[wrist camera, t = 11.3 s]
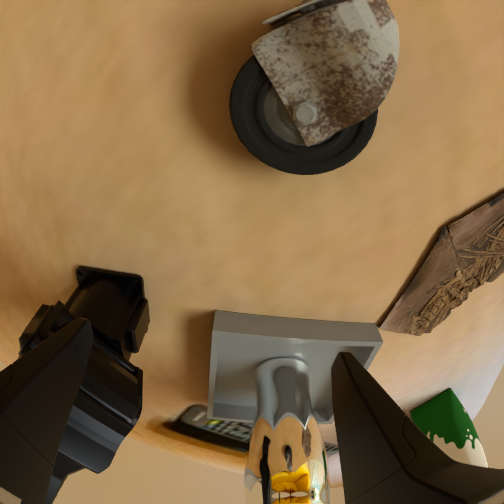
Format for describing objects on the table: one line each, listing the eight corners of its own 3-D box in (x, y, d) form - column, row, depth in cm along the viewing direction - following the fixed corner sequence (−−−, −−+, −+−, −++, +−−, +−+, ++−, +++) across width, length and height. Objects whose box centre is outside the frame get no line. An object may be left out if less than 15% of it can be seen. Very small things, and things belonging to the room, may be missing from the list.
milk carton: (462, 399, 37) (498, 494, 19) (416, 425, 40) (443, 522, 22) (454, 381, 33) (498, 494, 16) (402, 412, 36) (433, 526, 19)
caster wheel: (276, 162, 22) (205, 49, 17) (415, 111, 18) (358, -18, 12) (270, 214, 17) (169, 62, 12) (455, 148, 13) (388, -34, 7)
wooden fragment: (399, 350, 29) (402, 356, 28) (349, 296, 25) (352, 303, 25) (554, 209, 20) (560, 213, 20) (535, 127, 17) (542, 130, 16)
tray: (209, 401, 33) (207, 418, 31) (215, 310, 26) (212, 330, 24) (328, 407, 34) (331, 423, 32) (375, 323, 27) (383, 342, 25)
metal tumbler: (293, 344, 27) (307, 502, 14) (326, 377, 30) (345, 508, 17) (234, 370, 29) (224, 512, 16) (271, 399, 32) (274, 521, 19)
